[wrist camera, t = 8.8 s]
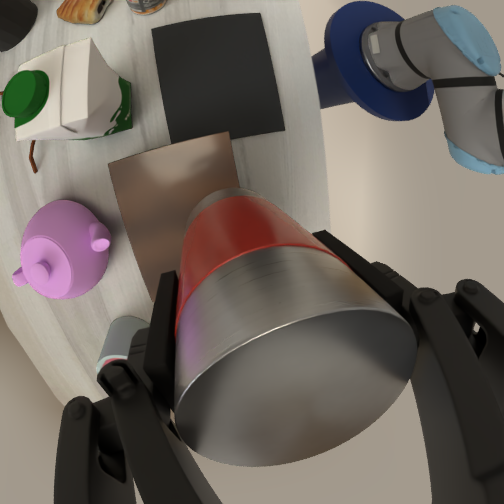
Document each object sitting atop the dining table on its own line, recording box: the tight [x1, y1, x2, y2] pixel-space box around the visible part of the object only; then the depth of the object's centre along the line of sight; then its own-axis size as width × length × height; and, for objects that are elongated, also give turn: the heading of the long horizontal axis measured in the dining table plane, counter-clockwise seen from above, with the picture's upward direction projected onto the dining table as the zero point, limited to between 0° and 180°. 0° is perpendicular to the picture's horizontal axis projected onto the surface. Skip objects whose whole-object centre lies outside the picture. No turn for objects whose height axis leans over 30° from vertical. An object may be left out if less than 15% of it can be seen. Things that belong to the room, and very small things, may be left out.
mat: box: [151, 13, 285, 144], centre depth 32 cm, size 16×20×1 cm
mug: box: [97, 316, 150, 374], centre depth 40 cm, size 14×9×10 cm
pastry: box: [57, 0, 111, 24], centre depth 20 cm, size 9×7×4 cm
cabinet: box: [108, 131, 240, 302], centre depth 34 cm, size 18×14×9 cm
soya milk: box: [2, 37, 132, 141], centre depth 21 cm, size 9×9×20 cm
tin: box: [174, 188, 417, 467], centre depth 13 cm, size 7×7×15 cm
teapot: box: [12, 200, 111, 299], centre depth 30 cm, size 20×14×12 cm
